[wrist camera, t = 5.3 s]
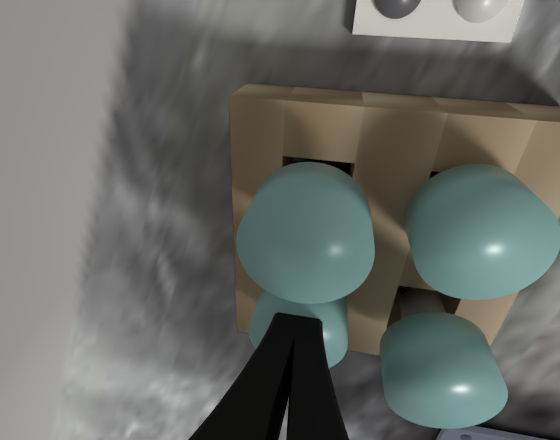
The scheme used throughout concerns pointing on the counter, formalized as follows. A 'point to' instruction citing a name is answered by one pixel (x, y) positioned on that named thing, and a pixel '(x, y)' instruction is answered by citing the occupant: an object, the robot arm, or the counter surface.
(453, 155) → the button board
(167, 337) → the counter surface
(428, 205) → the button
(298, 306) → the button
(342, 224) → the button
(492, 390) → the button
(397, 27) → the pattern card
